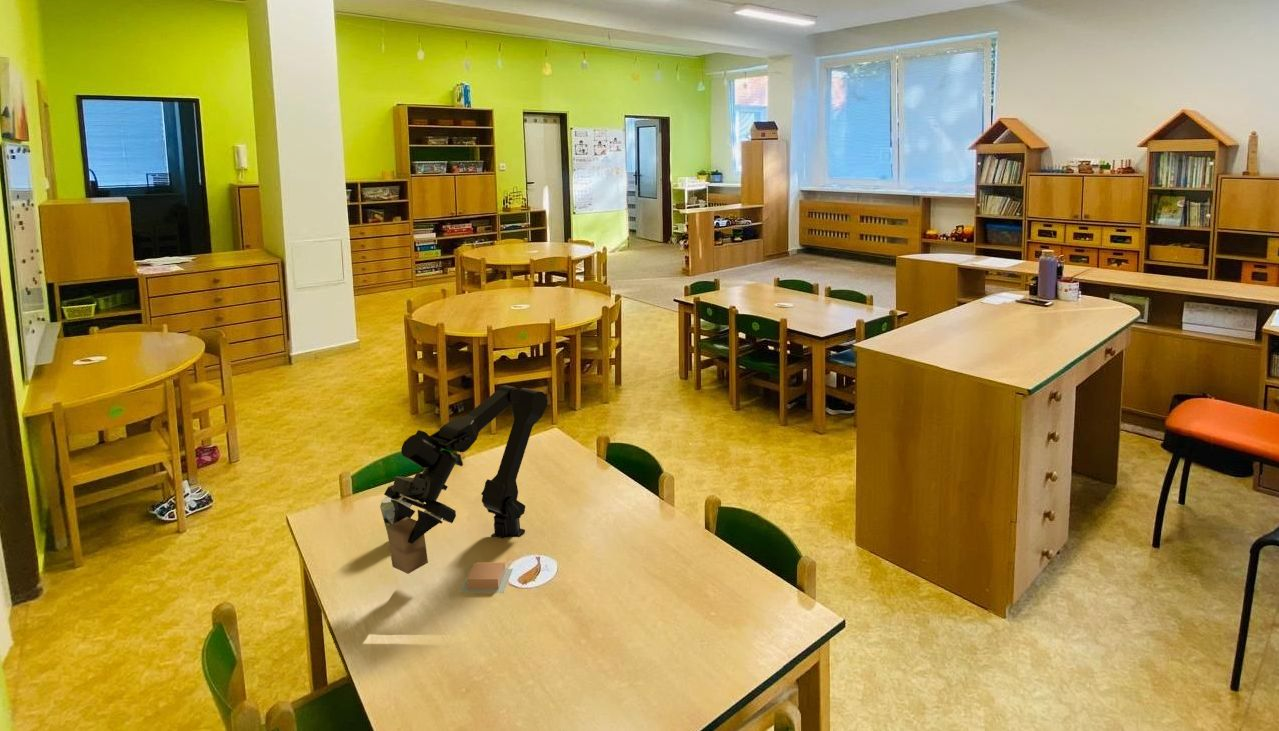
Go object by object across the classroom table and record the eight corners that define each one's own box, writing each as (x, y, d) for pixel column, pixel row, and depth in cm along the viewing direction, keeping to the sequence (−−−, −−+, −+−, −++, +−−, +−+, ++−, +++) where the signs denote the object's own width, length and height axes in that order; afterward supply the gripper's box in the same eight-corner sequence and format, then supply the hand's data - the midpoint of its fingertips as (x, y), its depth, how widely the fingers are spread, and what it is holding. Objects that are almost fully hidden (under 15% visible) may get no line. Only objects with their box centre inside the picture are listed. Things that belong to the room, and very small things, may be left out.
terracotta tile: (475, 571, 178) (474, 562, 178) (505, 571, 178) (504, 562, 177) (467, 588, 172) (466, 579, 171) (498, 589, 171) (497, 579, 170)
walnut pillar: (412, 555, 176) (407, 516, 174) (428, 562, 173) (422, 523, 170) (392, 566, 172) (386, 526, 169) (408, 574, 169) (402, 533, 166)
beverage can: (406, 547, 193) (401, 504, 189) (380, 545, 194) (374, 502, 191) (418, 535, 199) (413, 493, 195) (392, 533, 200) (386, 491, 197)
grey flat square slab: (471, 576, 180) (470, 568, 180) (513, 576, 180) (512, 568, 179) (460, 600, 171) (459, 592, 170) (504, 600, 170) (503, 593, 170)
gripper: (385, 452, 174) (350, 515, 169) (439, 470, 164) (403, 538, 158) (417, 471, 183) (384, 532, 177) (471, 490, 172) (437, 555, 167)
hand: (401, 539), depth 170 cm, fingers closed on walnut pillar, 5 cm apart
